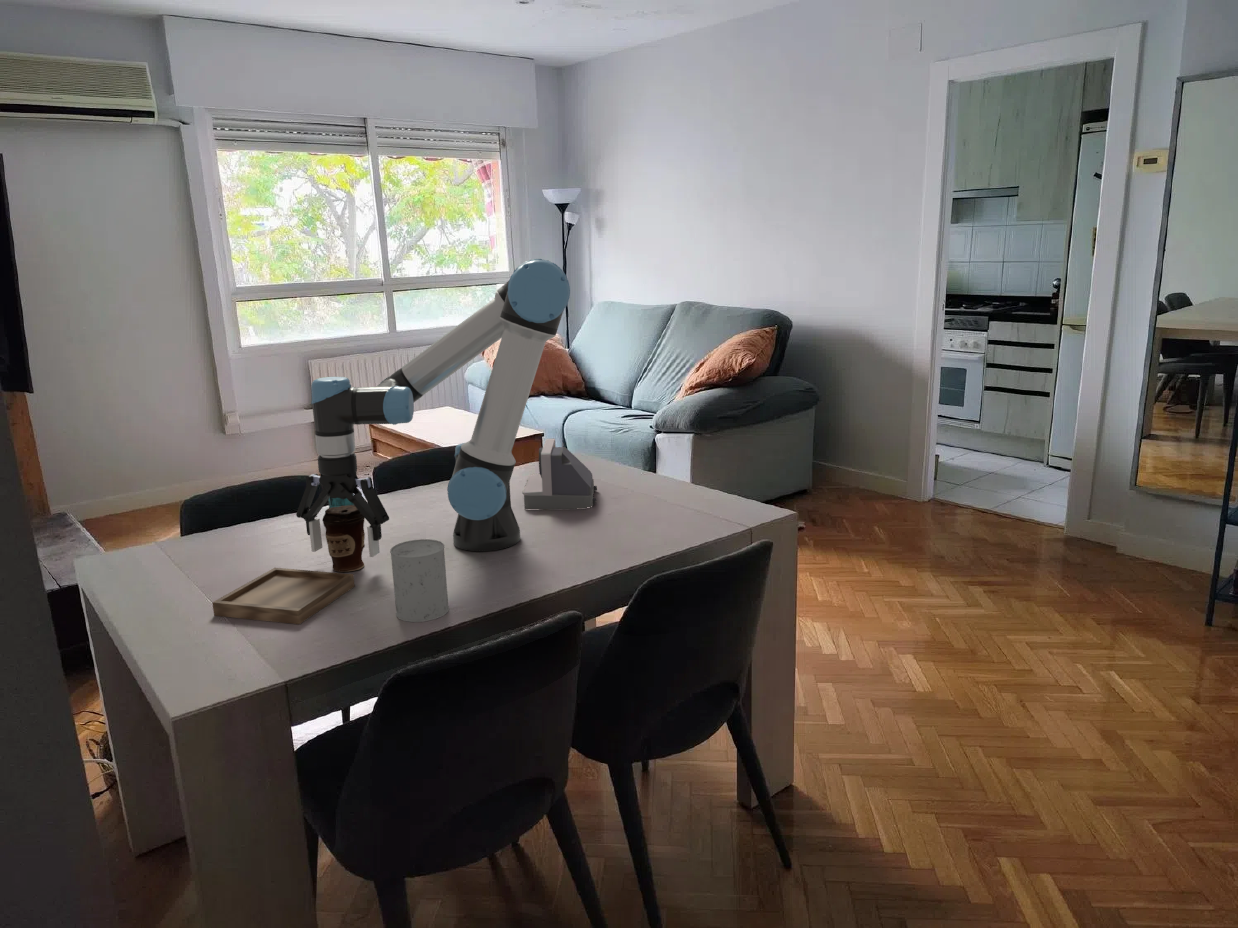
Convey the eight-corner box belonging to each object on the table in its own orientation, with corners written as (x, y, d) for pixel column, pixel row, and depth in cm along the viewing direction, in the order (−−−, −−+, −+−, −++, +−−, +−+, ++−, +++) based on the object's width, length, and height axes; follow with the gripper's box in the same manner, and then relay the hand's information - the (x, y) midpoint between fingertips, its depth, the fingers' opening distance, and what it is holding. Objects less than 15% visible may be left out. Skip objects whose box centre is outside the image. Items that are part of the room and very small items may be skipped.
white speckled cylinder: (400, 602, 159) (395, 540, 156) (451, 599, 160) (447, 538, 157) (391, 623, 150) (385, 558, 147) (445, 620, 151) (441, 555, 148)
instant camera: (533, 488, 236) (530, 436, 232) (605, 490, 233) (604, 437, 229) (512, 511, 215) (509, 454, 212) (591, 513, 212) (590, 455, 209)
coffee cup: (356, 576, 172) (350, 516, 169) (319, 574, 174) (312, 514, 171) (376, 561, 181) (370, 503, 177) (341, 559, 182) (335, 502, 179)
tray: (354, 586, 167) (353, 574, 166) (299, 624, 150) (297, 610, 150) (276, 579, 172) (274, 567, 171) (214, 615, 155) (212, 602, 154)
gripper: (401, 452, 172) (408, 550, 177) (294, 446, 178) (304, 541, 183) (382, 461, 165) (390, 563, 170) (271, 454, 171) (282, 553, 176)
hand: (345, 552), depth 176 cm, fingers open, 13 cm apart
